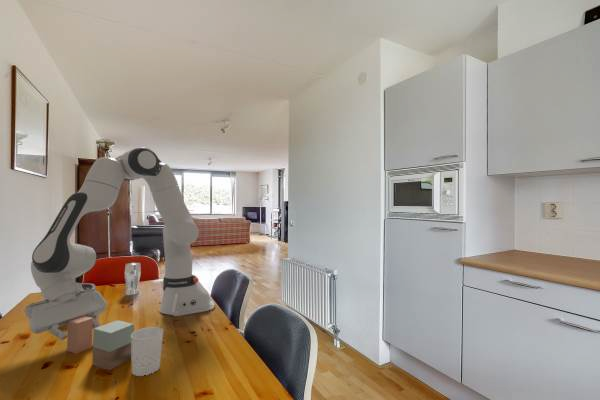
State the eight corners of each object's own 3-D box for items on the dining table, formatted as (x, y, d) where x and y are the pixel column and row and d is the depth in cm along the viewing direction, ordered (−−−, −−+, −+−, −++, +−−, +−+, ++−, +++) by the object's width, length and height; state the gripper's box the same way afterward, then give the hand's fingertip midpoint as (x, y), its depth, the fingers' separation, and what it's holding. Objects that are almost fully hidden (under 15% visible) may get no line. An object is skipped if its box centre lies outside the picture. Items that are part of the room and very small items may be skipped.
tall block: (82, 344, 94) (83, 315, 94) (91, 347, 92) (92, 318, 92) (66, 350, 90) (68, 320, 90) (76, 353, 88) (77, 323, 88)
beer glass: (126, 292, 150) (127, 262, 151) (141, 291, 152) (142, 262, 153) (122, 296, 144) (123, 265, 144) (138, 295, 146) (139, 264, 146)
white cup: (154, 359, 86) (155, 324, 86) (167, 369, 81) (168, 332, 81) (124, 370, 80) (125, 332, 80) (136, 381, 75) (138, 341, 75)
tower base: (116, 353, 89) (116, 336, 89) (132, 358, 86) (133, 341, 86) (92, 364, 82) (92, 346, 82) (109, 370, 80) (109, 351, 80)
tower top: (117, 336, 89) (117, 320, 89) (133, 341, 86) (134, 324, 86) (93, 346, 82) (93, 328, 82) (109, 351, 80) (110, 333, 80)
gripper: (26, 299, 84) (45, 340, 80) (99, 283, 103) (117, 315, 99) (17, 312, 86) (35, 353, 82) (90, 294, 105) (107, 326, 101)
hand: (80, 332), depth 91 cm, fingers open, 8 cm apart
